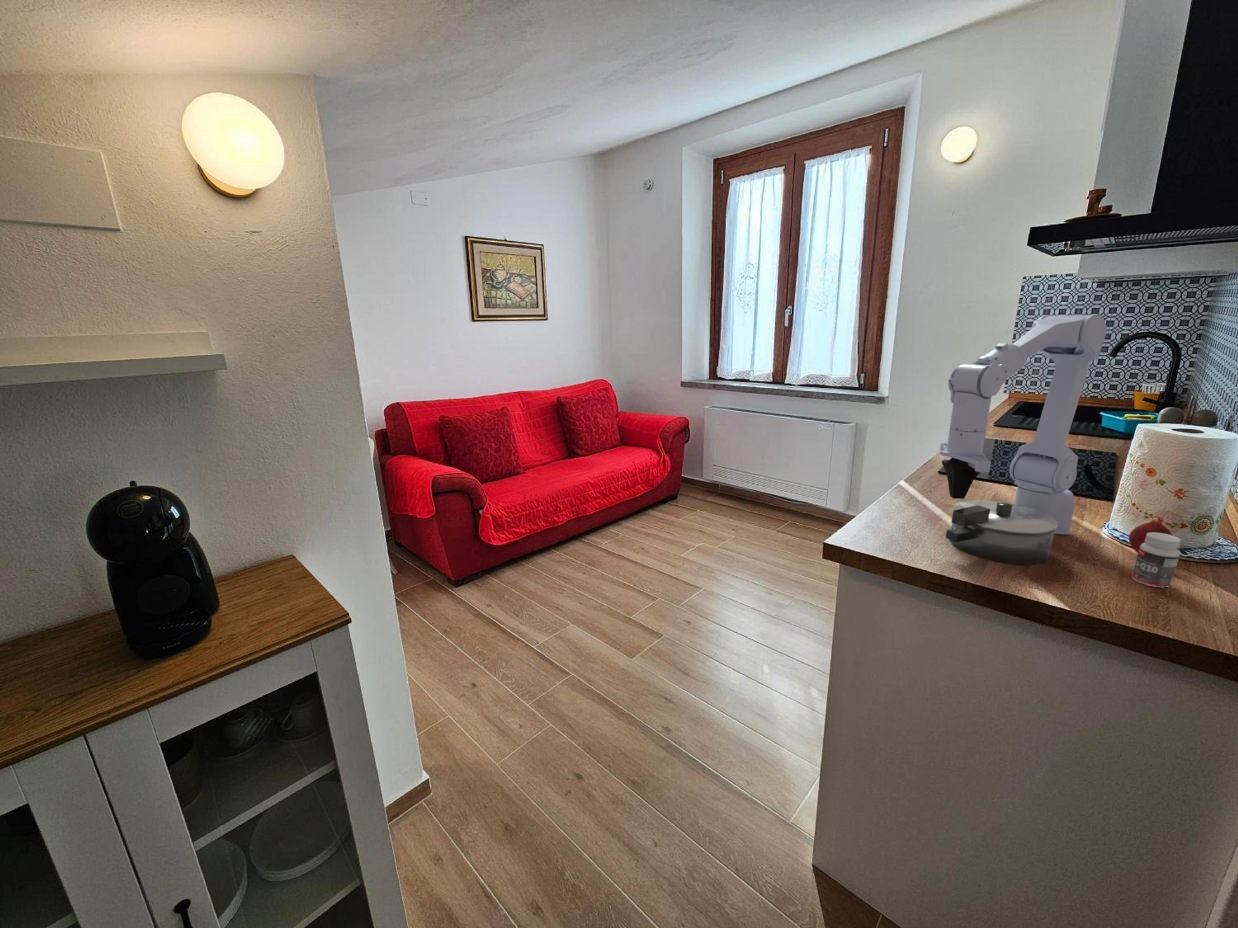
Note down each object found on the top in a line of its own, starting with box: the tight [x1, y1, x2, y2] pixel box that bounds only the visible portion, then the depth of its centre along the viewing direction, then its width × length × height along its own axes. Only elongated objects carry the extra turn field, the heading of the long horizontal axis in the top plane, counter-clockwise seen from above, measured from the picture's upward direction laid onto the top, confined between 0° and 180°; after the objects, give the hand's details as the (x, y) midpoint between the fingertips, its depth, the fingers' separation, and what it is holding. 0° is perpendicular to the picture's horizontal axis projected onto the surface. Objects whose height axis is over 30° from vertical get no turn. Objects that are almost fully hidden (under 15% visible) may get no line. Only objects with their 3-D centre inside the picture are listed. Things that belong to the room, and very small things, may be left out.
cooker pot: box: [945, 523, 1055, 566], centre depth 102 cm, size 21×16×6 cm
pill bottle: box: [1131, 532, 1182, 588], centre depth 87 cm, size 5×5×8 cm
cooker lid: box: [951, 499, 1058, 535], centre depth 100 cm, size 21×17×3 cm
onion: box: [1128, 517, 1174, 554], centre depth 96 cm, size 6×6×8 cm
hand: (957, 497), depth 101 cm, fingers closed
